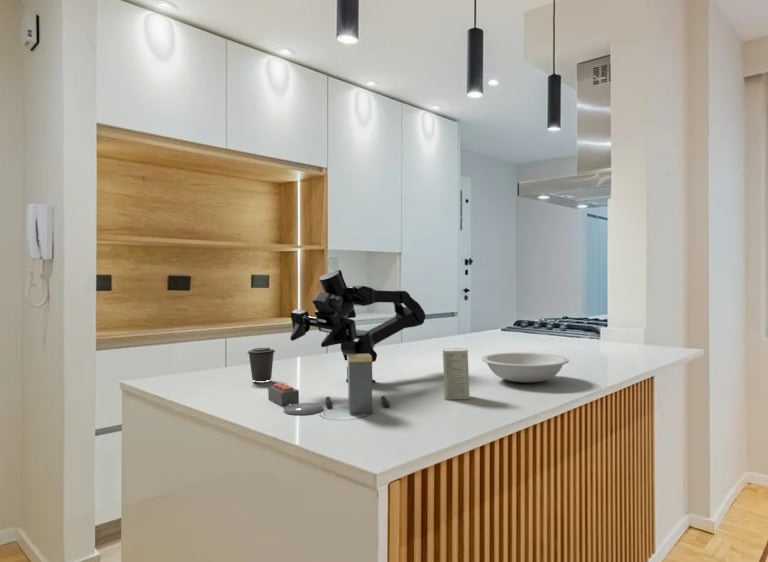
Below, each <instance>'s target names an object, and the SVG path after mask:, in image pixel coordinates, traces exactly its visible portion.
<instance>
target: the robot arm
mask: <svg viewBox="0 0 768 562" xmlns="http://www.w3.org/2000/svg"><path fill="white" fill-rule="evenodd" d="M318 280H319V283H320V285H321V288H322V290H323V292H321V291H318V292H317V293H316V294H315V296H314V298H313V300H312V304H313V305H314V307H315V309H316V310H315V311H314V316H316V317H313V316H309V315H310V314H309V312H308V311H307V310H302V309H299V308H298V309H297V308H295V309H294V310H293V311H292V312H291V313H290V319H291V324H292V333H291V335H290V341H295V340H297V339H300V338H301V337H303V336H305V335H306V333H309V331H310V328H311V327H315V328H318V332H323V333H328V334H327V335H326V337H324V339H323V340H322V341H321V343H320V346H321V348H326V347H330V346H334V345H340V350H341V353H342V354H343V355H342V356H343V358H344V359H343V360H344V361H348V359H347V354H370V355H371V356H372V363H373V362H376V361H377V356H378V354H377V352H376V351H375V350H374V348H375V346H376V345H377V344H379V343H381V342H383V341H385V340H386V339H388V338H390V337H391V336H393V335H395V334H398V332H401V331H402V330H404V329H409V328H415V327H418V326H422V325H423V324H424V322H425V319H426V313H425V310H424V308H422V306H421V305H420V303H419V302H417V301H416V300H415V299H414V298H413V297H411V294H410V293H409V292H408V291H406V290H377V289H374V288H372V287H369V286H365V285H349V286H347V284H346V281H345V279H344V277H343V272H342V271H341V269H335V270H334V271H331V272H327V273H323V274H322V275H321V276H320V277H319V278H318ZM376 303H393V306H394V309H393V310H394V312H395V315H394V317H392V318H390V319H389V320H386V321H384V322H382V323H381V324H379V325H377V326H375V327H373V328H371V329H369V330H366V329H365V330H363V329H357V327H356V322H355V320H353V319H354V318H357V313H356V309H355V306H357V307H359V306H360V307H364V306H365V307H366V306H369V305H373V304H376ZM346 376H347V379H345V381H346V382H347V383H348V366H347V367H346ZM372 383H376V379H373V378H372Z"/></svg>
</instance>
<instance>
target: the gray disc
mask: <svg viewBox="0 0 768 562" xmlns="http://www.w3.org/2000/svg"><path fill="white" fill-rule="evenodd" d="M323 410H324V405H323V404H320V403H316V402H299V403H296V404H291V405H286V406H283V413H284V412H285V413H284V414H287V413H288V414H287V415H291V414H292V415H293V416H306V415H307V416H308V415H313V414H314V415H315V414H317V413H320V412H322V411H323ZM292 415H291V416H292Z"/></svg>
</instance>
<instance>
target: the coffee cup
mask: <svg viewBox="0 0 768 562" xmlns="http://www.w3.org/2000/svg"><path fill="white" fill-rule="evenodd" d="M247 351H248V352H247V354H248V355H249V356H248V358H249V364H250V365H249V366H250V371H251V372H250V373H251V380H255V381H266V380H270V379H271V380H272V374H273V365H274V364H273V361H274V355H275V353H276V350H274V349H272V348H271V347H256V348H253V349H250V350H247Z"/></svg>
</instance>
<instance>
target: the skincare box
mask: <svg viewBox="0 0 768 562" xmlns="http://www.w3.org/2000/svg"><path fill="white" fill-rule="evenodd" d="M442 359H443V360H442V361H443V362H442V363H443V365H442V366H443V387H444V394H443V395H444V400H470V378H469V377H470V375H469V373H470V372H469V350H468V347H463V348H460V347H459V348H458V347H457V348H456V347H455V348H442Z"/></svg>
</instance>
